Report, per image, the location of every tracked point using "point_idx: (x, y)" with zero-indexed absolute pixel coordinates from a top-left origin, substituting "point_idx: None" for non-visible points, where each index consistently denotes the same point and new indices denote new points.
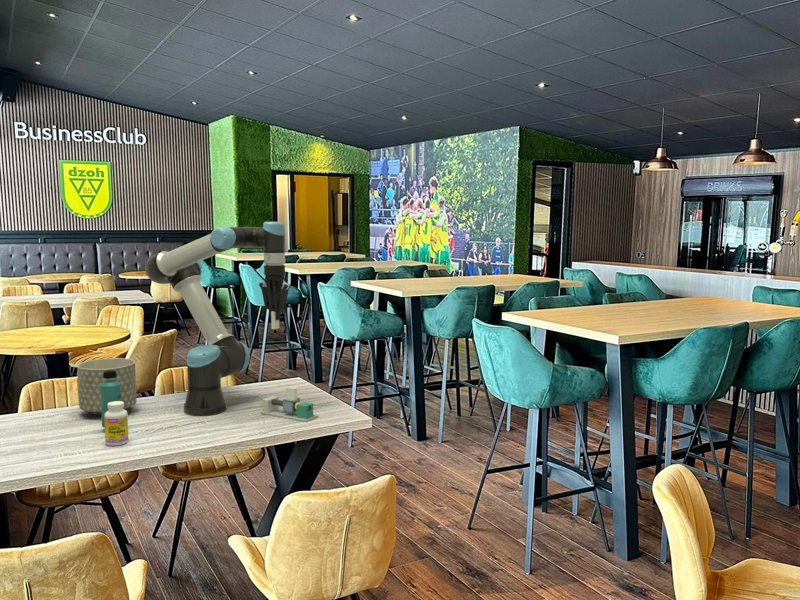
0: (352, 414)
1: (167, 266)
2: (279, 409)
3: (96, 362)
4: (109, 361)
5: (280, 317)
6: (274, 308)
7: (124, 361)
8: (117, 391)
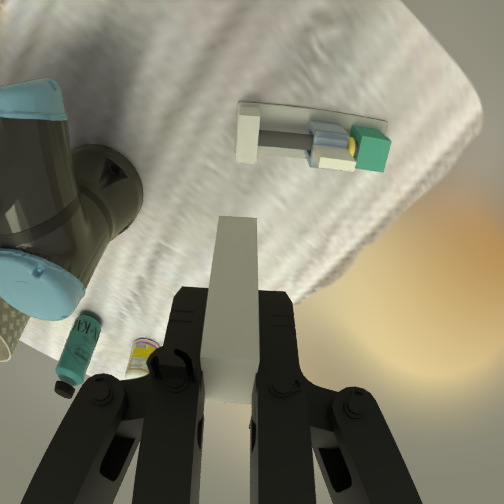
0: (450, 78)
1: None
2: (265, 111)
3: None
4: None
5: (292, 312)
6: (199, 402)
7: None
8: (84, 369)
